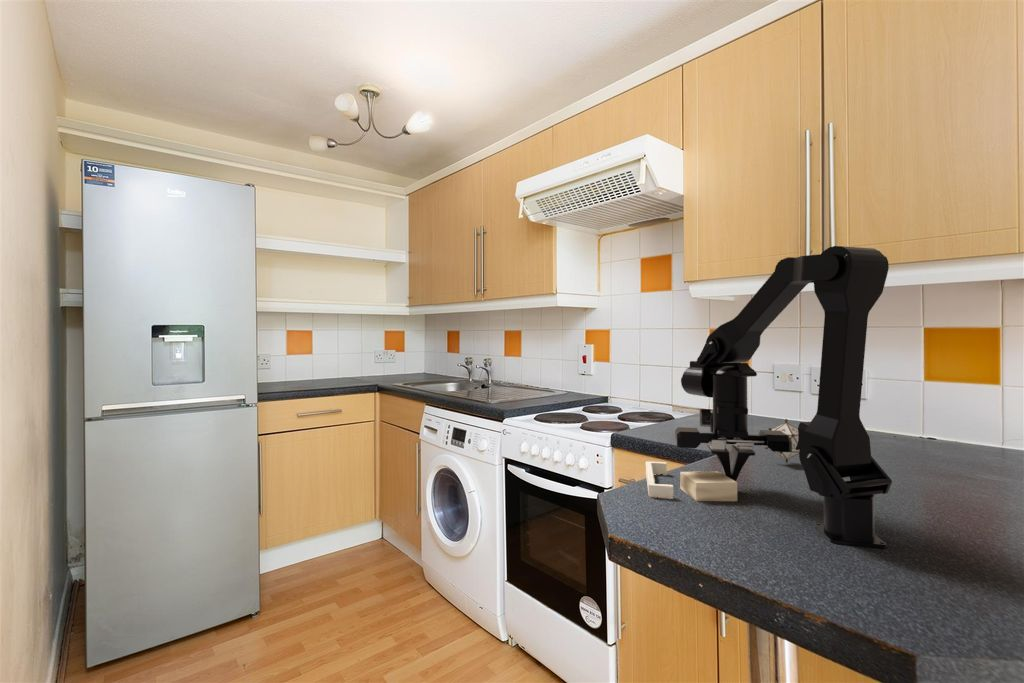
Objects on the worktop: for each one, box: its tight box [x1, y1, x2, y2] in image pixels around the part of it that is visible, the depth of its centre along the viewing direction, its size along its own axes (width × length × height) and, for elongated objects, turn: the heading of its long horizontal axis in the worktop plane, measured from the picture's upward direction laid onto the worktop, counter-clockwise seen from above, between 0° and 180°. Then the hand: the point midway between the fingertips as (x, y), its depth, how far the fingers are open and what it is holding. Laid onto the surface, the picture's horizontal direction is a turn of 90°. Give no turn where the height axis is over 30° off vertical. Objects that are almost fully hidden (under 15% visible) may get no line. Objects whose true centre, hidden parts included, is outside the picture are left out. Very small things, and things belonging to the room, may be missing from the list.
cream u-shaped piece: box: [645, 461, 674, 500], centre depth 91 cm, size 17×4×3 cm, turn 166°
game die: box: [764, 418, 799, 464], centre depth 109 cm, size 9×8×10 cm
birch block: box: [679, 470, 738, 502], centre depth 85 cm, size 7×7×4 cm
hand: (730, 486), depth 88 cm, fingers closed
